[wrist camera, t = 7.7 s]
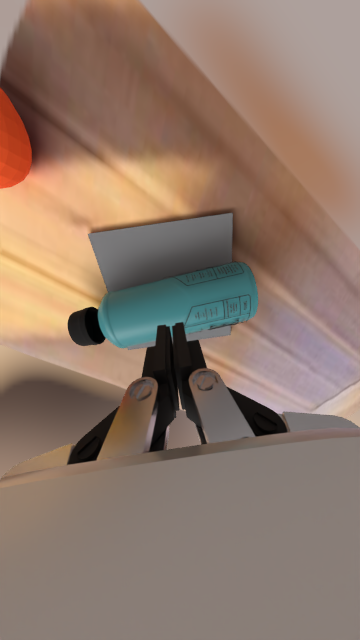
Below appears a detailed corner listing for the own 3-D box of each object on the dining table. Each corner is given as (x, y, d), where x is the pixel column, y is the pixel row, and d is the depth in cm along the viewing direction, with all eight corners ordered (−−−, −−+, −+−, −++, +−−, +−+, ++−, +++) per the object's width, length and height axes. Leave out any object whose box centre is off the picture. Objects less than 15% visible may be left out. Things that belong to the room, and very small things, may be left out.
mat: (230, 213, 17) (232, 212, 17) (229, 332, 24) (230, 334, 24) (90, 233, 17) (87, 233, 17) (129, 347, 24) (128, 350, 24)
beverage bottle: (256, 241, 16) (57, 287, 16) (287, 300, 13) (48, 352, 14) (241, 281, 22) (96, 313, 22) (259, 327, 19) (95, 362, 20)
